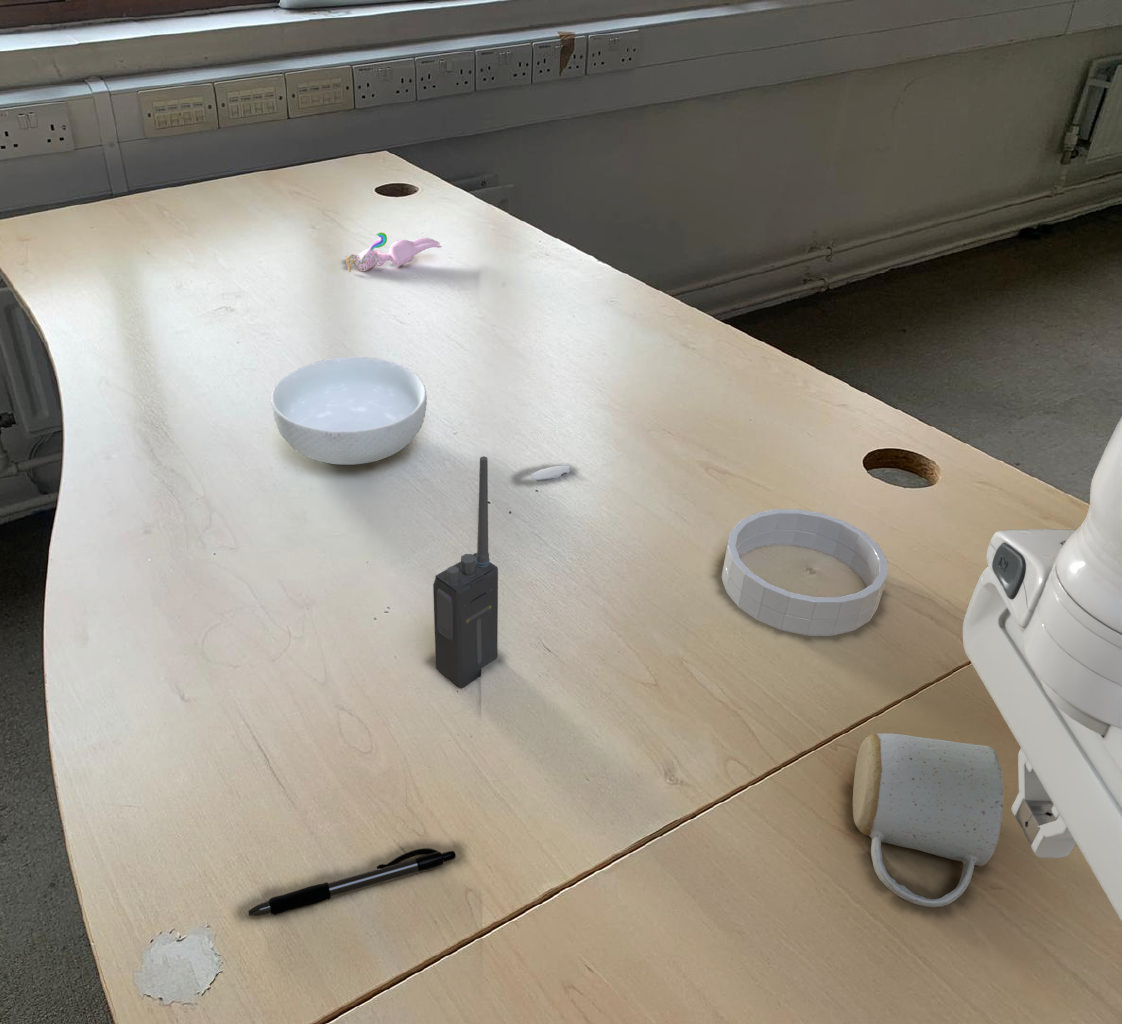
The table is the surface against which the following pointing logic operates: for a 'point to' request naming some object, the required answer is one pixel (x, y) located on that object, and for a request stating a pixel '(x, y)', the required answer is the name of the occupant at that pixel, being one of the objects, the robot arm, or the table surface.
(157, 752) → the table surface
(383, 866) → the pen
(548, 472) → the white elongated flat piece
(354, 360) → the cereal bowl
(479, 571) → the walkie-talkie
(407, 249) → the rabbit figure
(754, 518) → the gray band ring
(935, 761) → the ceramic mug
